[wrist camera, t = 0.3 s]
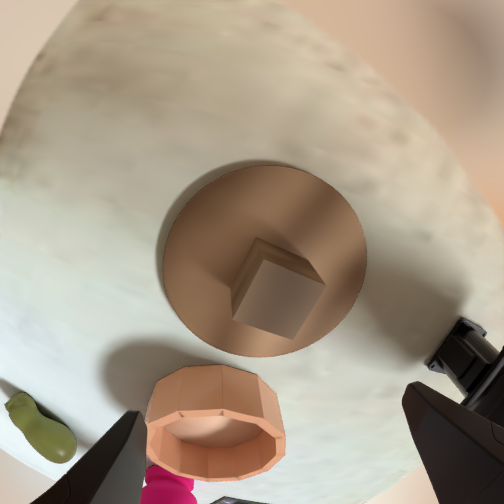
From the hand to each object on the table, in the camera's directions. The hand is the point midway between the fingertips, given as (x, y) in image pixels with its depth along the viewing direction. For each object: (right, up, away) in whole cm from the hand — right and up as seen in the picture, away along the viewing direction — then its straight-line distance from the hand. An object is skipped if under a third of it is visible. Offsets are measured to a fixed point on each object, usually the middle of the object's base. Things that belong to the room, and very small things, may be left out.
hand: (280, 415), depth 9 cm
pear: (-25, -14, +17) cm, 34 cm away
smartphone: (-1, -37, +28) cm, 47 cm away
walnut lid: (0, +4, +13) cm, 14 cm away
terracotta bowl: (-4, -10, +17) cm, 20 cm away
